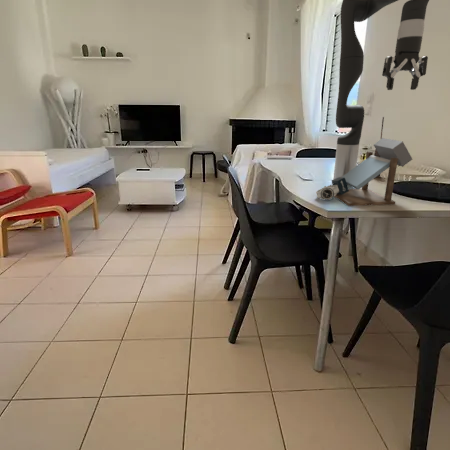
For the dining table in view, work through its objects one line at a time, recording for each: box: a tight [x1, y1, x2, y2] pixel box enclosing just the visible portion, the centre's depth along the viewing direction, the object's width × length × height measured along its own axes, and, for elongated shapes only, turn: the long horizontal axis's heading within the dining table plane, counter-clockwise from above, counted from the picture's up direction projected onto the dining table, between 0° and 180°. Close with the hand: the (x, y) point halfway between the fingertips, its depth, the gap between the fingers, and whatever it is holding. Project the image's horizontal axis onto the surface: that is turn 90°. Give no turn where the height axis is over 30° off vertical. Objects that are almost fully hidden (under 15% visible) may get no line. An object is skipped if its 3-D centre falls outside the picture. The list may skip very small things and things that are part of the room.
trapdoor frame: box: [333, 151, 398, 207], centre depth 122 cm, size 17×20×16 cm
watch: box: [315, 177, 349, 201], centre depth 124 cm, size 6×8×11 cm
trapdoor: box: [343, 137, 413, 190], centre depth 121 cm, size 21×14×8 cm
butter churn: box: [373, 116, 385, 178], centre depth 157 cm, size 9×10×28 cm
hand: (401, 89), depth 115 cm, fingers open, 8 cm apart
